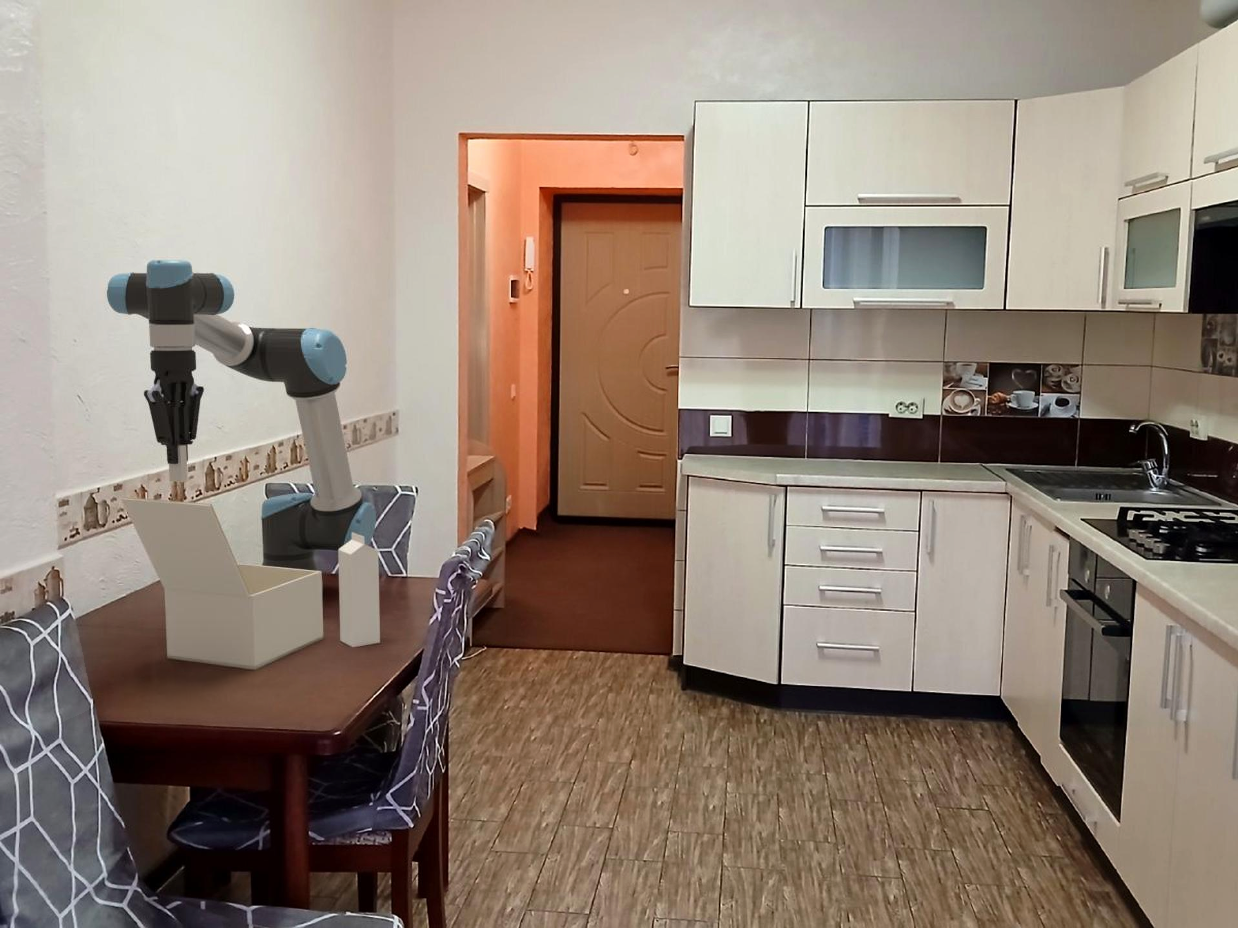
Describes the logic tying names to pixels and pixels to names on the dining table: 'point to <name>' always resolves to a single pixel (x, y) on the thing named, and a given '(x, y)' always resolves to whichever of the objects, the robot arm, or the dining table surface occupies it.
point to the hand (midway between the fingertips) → (178, 481)
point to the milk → (359, 593)
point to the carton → (246, 619)
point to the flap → (186, 545)
